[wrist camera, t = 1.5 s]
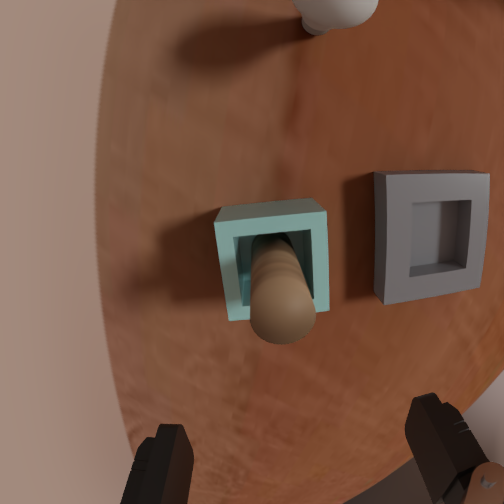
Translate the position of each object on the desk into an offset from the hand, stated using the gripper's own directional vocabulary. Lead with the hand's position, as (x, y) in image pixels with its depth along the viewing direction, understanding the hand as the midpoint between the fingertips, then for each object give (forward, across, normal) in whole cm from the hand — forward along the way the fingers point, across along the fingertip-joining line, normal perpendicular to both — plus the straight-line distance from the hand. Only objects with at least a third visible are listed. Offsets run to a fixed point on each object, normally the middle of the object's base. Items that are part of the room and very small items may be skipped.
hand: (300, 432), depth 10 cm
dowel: (+20, 0, 0) cm, 20 cm away
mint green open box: (+21, 0, 0) cm, 21 cm away
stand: (+21, -16, 0) cm, 26 cm away
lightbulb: (+21, -6, -20) cm, 30 cm away
